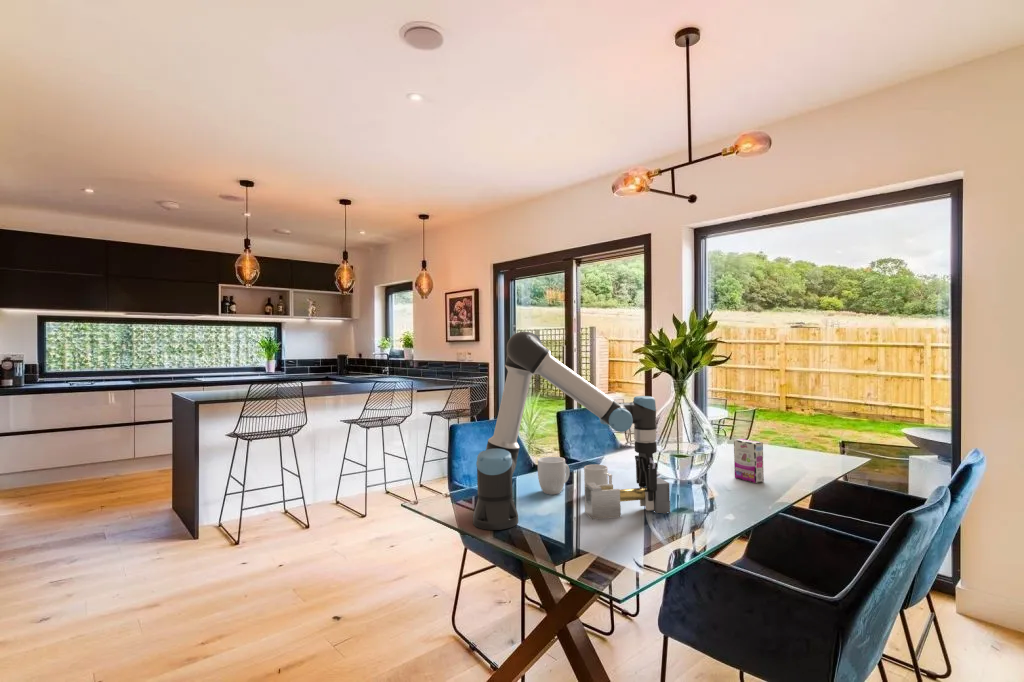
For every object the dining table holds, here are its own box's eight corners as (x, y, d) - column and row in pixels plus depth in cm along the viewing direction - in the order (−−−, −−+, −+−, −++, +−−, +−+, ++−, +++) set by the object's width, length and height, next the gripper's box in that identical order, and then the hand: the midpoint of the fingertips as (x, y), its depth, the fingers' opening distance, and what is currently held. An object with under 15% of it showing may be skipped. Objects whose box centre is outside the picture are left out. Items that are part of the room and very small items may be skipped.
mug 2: (579, 495, 207) (579, 467, 207) (595, 491, 213) (594, 463, 213) (603, 502, 198) (603, 472, 198) (619, 497, 204) (618, 468, 204)
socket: (656, 514, 184) (656, 484, 184) (646, 506, 192) (646, 478, 192) (670, 512, 185) (669, 483, 185) (659, 505, 193) (659, 477, 193)
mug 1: (559, 485, 223) (558, 453, 223) (578, 490, 215) (577, 457, 215) (532, 492, 214) (531, 459, 214) (551, 498, 205) (550, 463, 205)
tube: (602, 504, 183) (602, 492, 183) (598, 501, 187) (598, 489, 187) (663, 499, 187) (663, 488, 187) (658, 496, 191) (657, 485, 191)
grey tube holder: (592, 519, 180) (591, 489, 180) (584, 512, 188) (584, 482, 188) (620, 517, 182) (620, 486, 182) (612, 509, 190) (611, 480, 190)
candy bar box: (764, 482, 220) (763, 442, 220) (755, 483, 218) (754, 443, 218) (742, 476, 231) (741, 438, 231) (733, 477, 229) (733, 439, 229)
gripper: (666, 444, 180) (668, 514, 180) (645, 436, 197) (646, 499, 197) (645, 446, 179) (647, 516, 179) (625, 437, 195) (627, 501, 195)
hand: (646, 507), depth 188 cm, fingers closed on tube, 4 cm apart
